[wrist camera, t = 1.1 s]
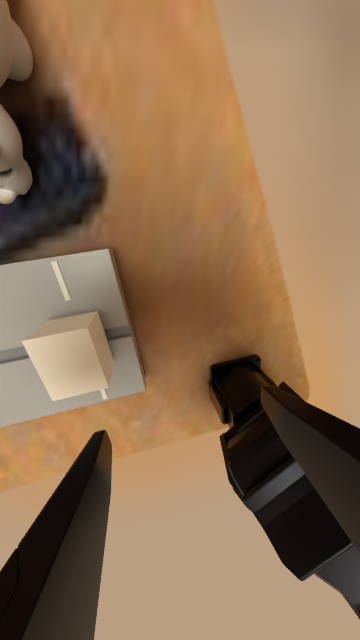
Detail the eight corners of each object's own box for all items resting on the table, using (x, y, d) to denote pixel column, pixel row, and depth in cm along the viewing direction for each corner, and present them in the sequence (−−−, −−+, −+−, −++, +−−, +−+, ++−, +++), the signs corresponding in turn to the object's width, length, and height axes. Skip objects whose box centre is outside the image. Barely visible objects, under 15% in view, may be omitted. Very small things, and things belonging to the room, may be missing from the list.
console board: (112, 248, 17) (107, 248, 15) (145, 375, 23) (145, 391, 20) (-159, 289, 15) (-220, 298, 12) (-49, 421, 20) (-75, 446, 18)
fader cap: (99, 308, 17) (87, 327, 13) (115, 357, 19) (108, 387, 15) (49, 317, 16) (21, 341, 12) (71, 367, 18) (52, 401, 14)
